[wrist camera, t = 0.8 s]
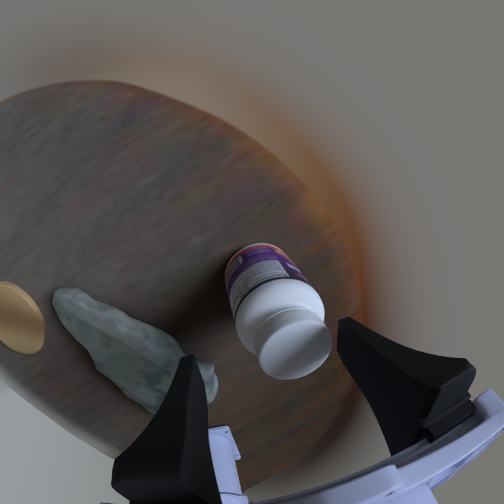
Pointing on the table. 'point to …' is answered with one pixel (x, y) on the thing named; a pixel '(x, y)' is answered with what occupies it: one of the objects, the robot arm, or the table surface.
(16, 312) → the coaster
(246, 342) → the pill bottle
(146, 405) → the stone
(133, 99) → the table surface
